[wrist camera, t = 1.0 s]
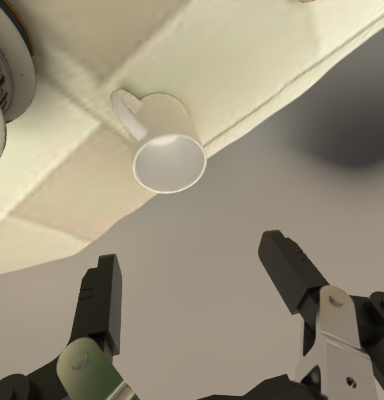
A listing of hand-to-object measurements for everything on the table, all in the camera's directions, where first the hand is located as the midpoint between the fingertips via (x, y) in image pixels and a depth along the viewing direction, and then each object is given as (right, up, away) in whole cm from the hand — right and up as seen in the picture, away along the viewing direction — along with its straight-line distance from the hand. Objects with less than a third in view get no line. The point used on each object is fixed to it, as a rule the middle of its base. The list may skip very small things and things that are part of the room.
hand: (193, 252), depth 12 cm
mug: (-6, +15, +18) cm, 24 cm away
